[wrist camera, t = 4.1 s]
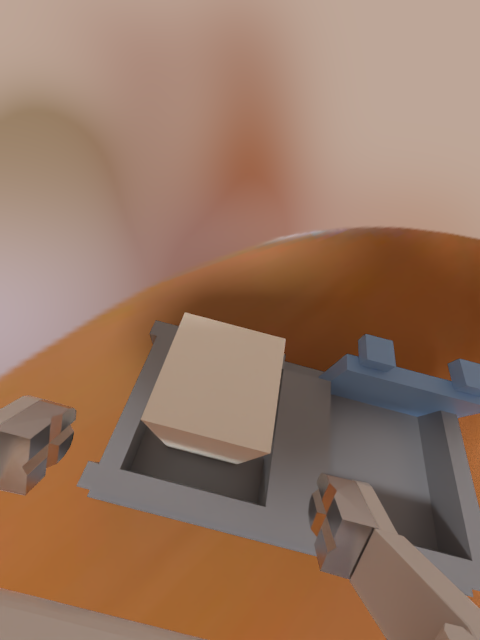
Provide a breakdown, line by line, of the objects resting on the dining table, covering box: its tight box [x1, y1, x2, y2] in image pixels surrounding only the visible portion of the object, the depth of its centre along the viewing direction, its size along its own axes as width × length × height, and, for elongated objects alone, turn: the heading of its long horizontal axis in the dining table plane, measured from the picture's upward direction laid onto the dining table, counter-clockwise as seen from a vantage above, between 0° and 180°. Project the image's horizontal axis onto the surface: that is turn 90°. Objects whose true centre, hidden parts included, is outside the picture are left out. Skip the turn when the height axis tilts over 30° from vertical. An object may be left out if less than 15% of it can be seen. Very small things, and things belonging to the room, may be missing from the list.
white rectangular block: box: [141, 312, 286, 465], centre depth 12 cm, size 4×4×8 cm
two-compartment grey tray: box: [77, 320, 480, 597], centre depth 14 cm, size 20×11×6 cm, turn 78°
